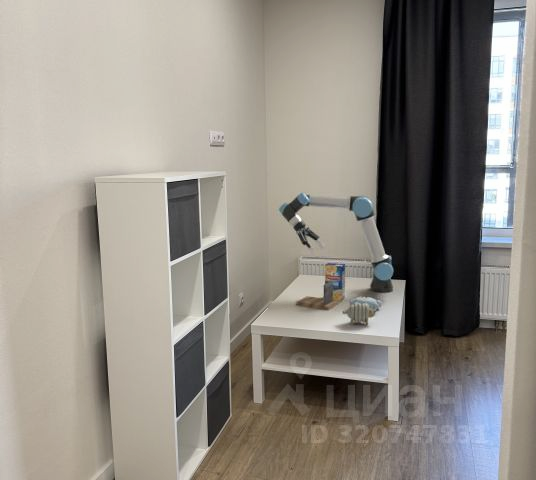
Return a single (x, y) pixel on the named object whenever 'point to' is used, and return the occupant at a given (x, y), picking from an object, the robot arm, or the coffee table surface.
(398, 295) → the coffee table surface
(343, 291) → the beverage box
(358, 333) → the coffee table surface
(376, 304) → the figurine
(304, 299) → the wooden stand
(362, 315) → the toy sheep
